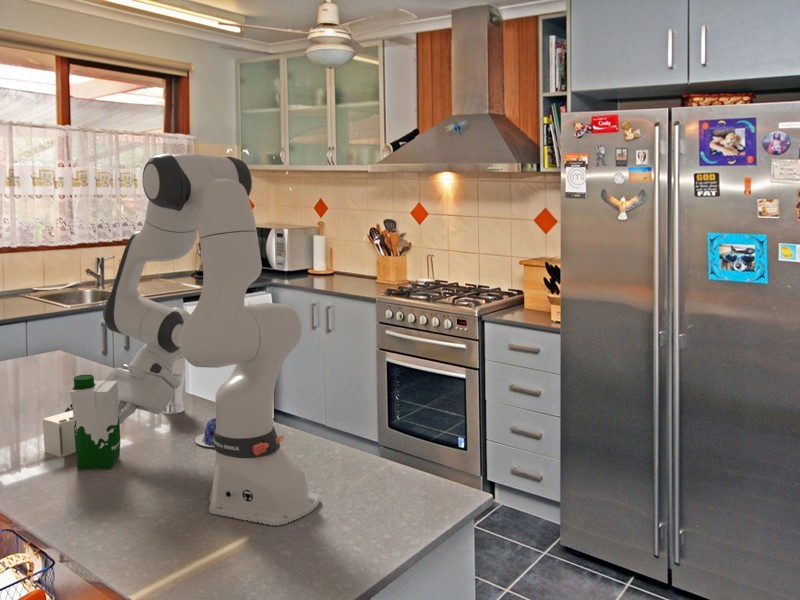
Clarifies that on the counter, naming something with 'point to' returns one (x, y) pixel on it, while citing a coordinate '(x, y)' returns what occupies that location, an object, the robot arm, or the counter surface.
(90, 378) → the soya milk
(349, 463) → the counter surface
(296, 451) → the counter surface
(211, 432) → the pudding
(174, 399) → the beer glass
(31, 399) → the counter surface
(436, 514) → the counter surface
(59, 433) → the block
